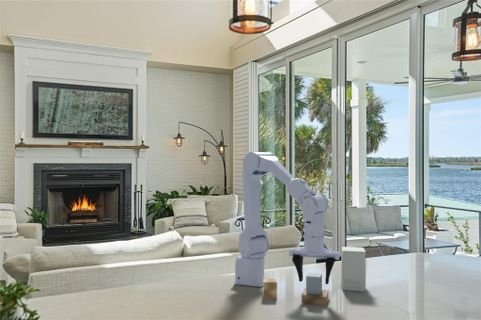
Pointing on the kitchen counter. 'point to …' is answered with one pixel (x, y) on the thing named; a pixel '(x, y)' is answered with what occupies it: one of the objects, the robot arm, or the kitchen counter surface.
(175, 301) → the kitchen counter surface
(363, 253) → the supplement box
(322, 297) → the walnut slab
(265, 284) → the oak block
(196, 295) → the kitchen counter surface
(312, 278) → the slate block
